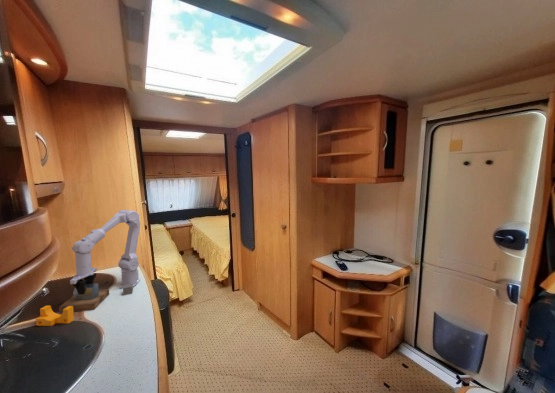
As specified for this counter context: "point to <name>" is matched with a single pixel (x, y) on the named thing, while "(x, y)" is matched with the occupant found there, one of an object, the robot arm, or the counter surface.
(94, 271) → the robot arm
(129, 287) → the grey rubber block
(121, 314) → the counter surface
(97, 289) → the block
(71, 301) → the walnut stand
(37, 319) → the pipe clamp
